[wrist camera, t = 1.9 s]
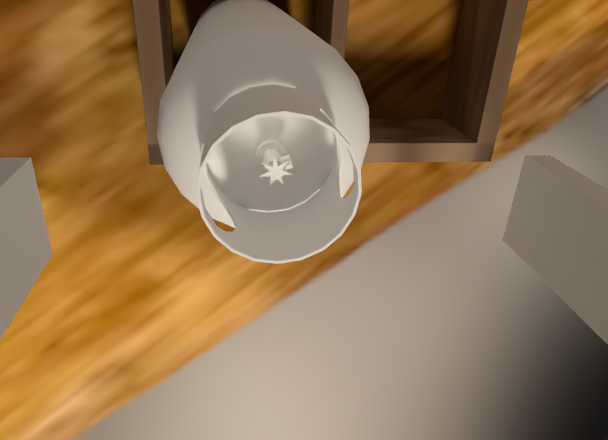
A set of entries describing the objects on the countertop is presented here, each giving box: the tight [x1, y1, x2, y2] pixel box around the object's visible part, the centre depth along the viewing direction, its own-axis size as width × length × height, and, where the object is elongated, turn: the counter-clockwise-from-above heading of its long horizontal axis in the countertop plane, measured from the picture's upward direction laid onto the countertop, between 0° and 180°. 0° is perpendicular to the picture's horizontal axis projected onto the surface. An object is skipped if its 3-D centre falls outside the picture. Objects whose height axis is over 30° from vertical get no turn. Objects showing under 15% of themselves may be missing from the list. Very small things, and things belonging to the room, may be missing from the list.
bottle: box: [157, 0, 370, 264], centre depth 26 cm, size 8×8×28 cm
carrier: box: [133, 0, 528, 164], centre depth 36 cm, size 26×14×7 cm, turn 88°
